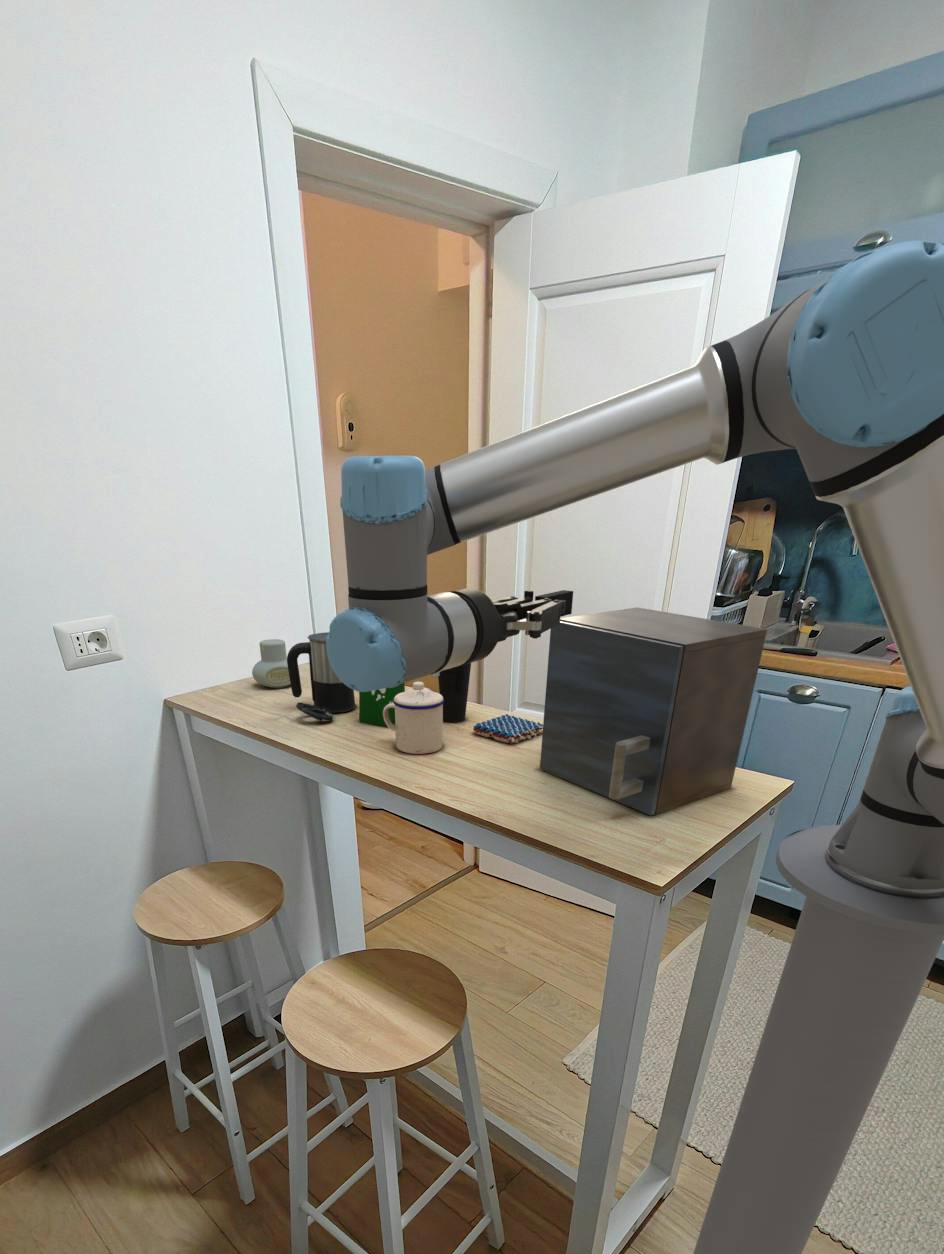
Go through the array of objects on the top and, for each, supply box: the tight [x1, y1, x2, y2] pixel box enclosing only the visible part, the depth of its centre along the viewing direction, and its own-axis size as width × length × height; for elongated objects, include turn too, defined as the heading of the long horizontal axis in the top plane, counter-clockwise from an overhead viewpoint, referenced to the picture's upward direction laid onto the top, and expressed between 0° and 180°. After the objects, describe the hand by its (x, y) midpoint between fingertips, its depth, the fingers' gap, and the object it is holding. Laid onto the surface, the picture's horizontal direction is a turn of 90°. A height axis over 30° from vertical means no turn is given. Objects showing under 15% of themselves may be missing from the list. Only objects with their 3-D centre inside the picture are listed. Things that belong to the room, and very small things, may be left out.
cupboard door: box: [539, 621, 684, 817], centre depth 105 cm, size 7×24×24 cm, turn 35°
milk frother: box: [286, 631, 357, 723], centre depth 146 cm, size 14×16×15 cm
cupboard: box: [560, 607, 768, 816], centre depth 111 cm, size 18×24×24 cm
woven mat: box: [472, 713, 543, 744], centre depth 137 cm, size 10×11×2 cm
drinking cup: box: [437, 663, 472, 724], centre depth 140 cm, size 8×8×20 cm
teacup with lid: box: [383, 681, 444, 755], centre depth 128 cm, size 12×9×12 cm
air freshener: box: [251, 638, 291, 689], centre depth 167 cm, size 11×8×10 cm
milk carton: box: [358, 682, 406, 728], centre depth 140 cm, size 9×9×20 cm
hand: (567, 602), depth 91 cm, fingers closed
